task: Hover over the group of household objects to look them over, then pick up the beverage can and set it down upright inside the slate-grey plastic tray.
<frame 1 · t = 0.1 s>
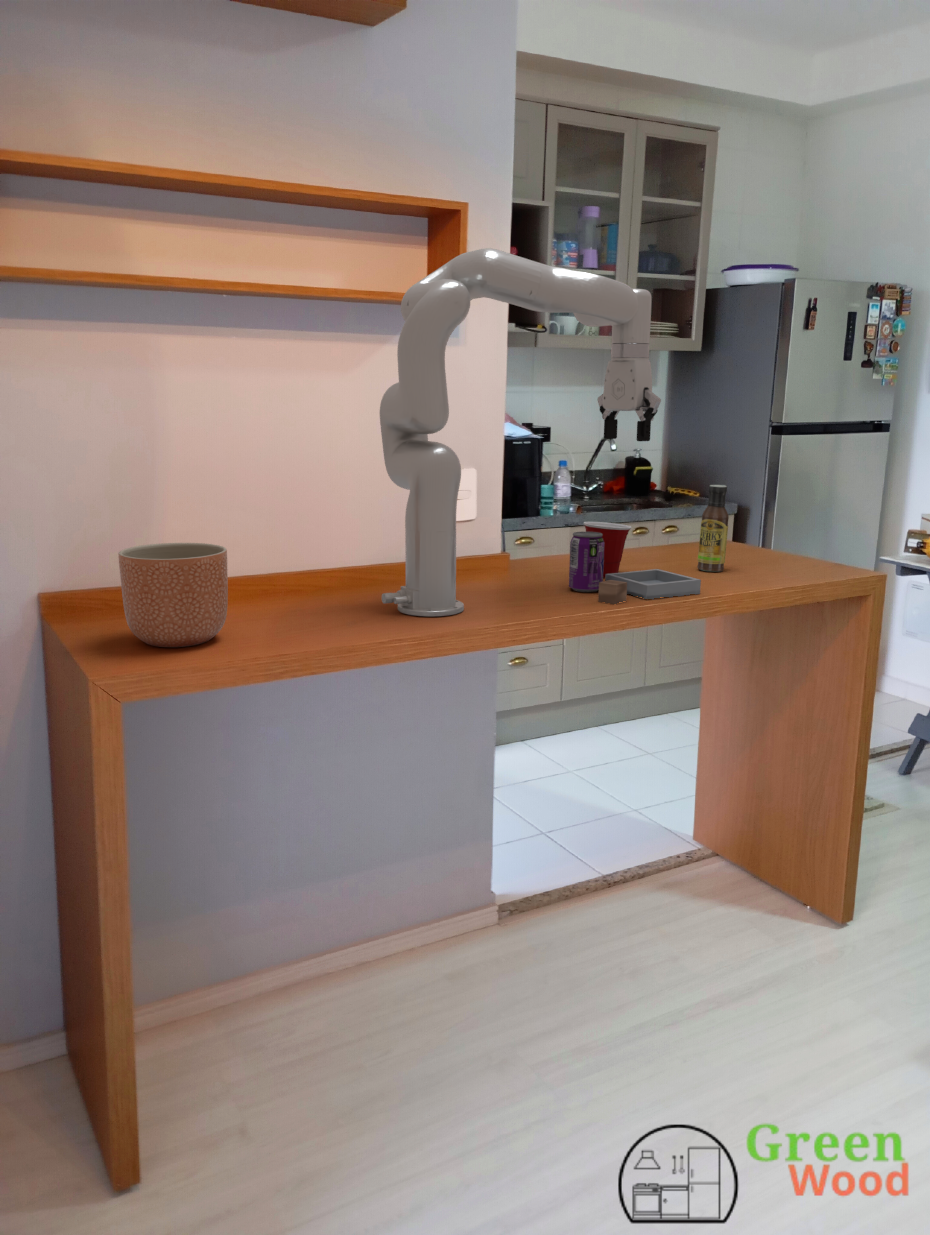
hand: (626, 439, 206), 31 cm above the countertop, tool pointing down, fingers open, 9 cm apart
beverage can: (585, 591, 212), on the countertop
planter: (178, 641, 168), on the countertop
tray: (651, 590, 212), on the countertop
plastic cup: (605, 576, 229), on the countertop
walnut block: (612, 602, 201), on the countertop
sauce bottle: (711, 571, 236), on the countertop
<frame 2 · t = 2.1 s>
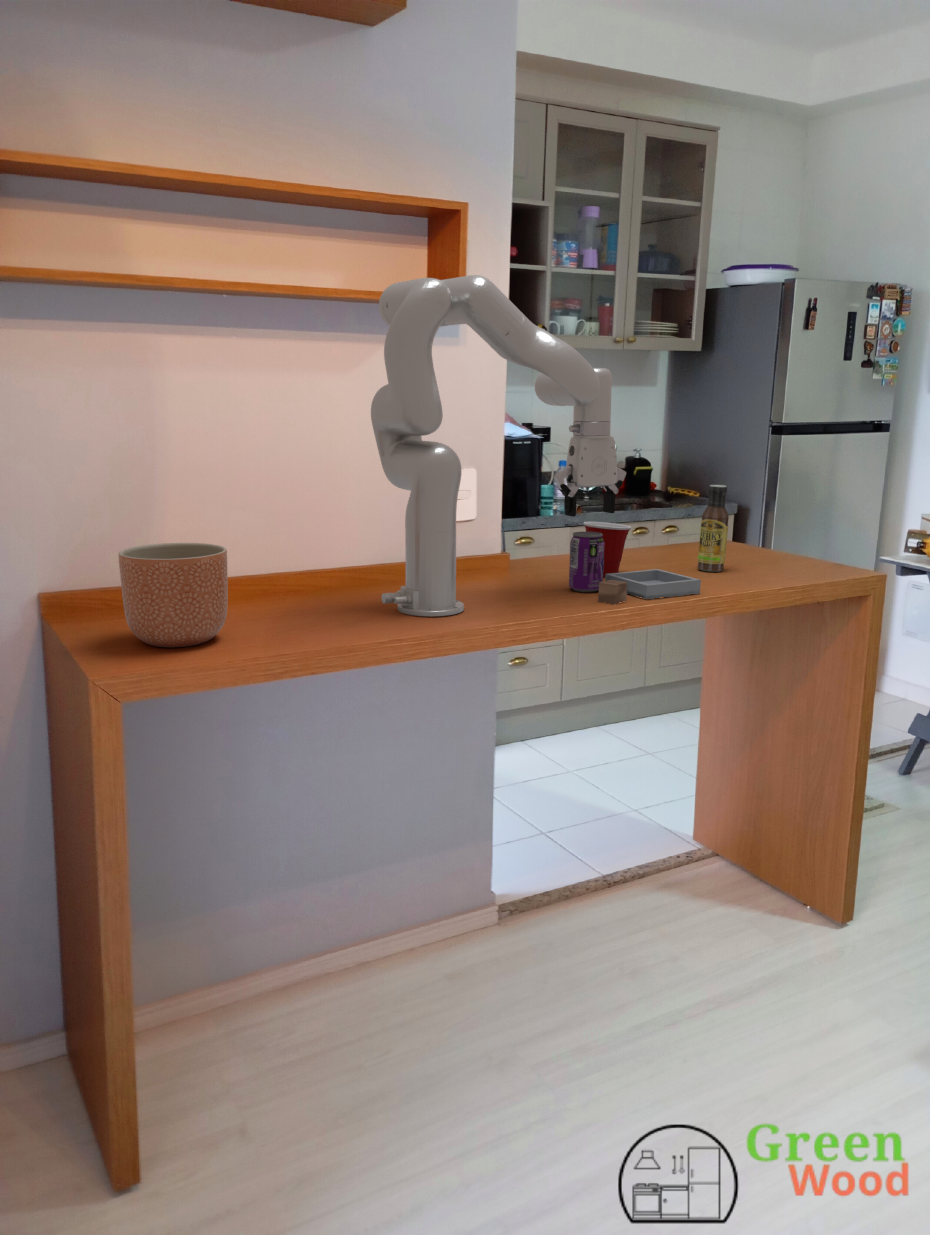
hand: (589, 514, 209), 16 cm above the countertop, tool pointing down, fingers open, 9 cm apart
nothing on the countertop moved.
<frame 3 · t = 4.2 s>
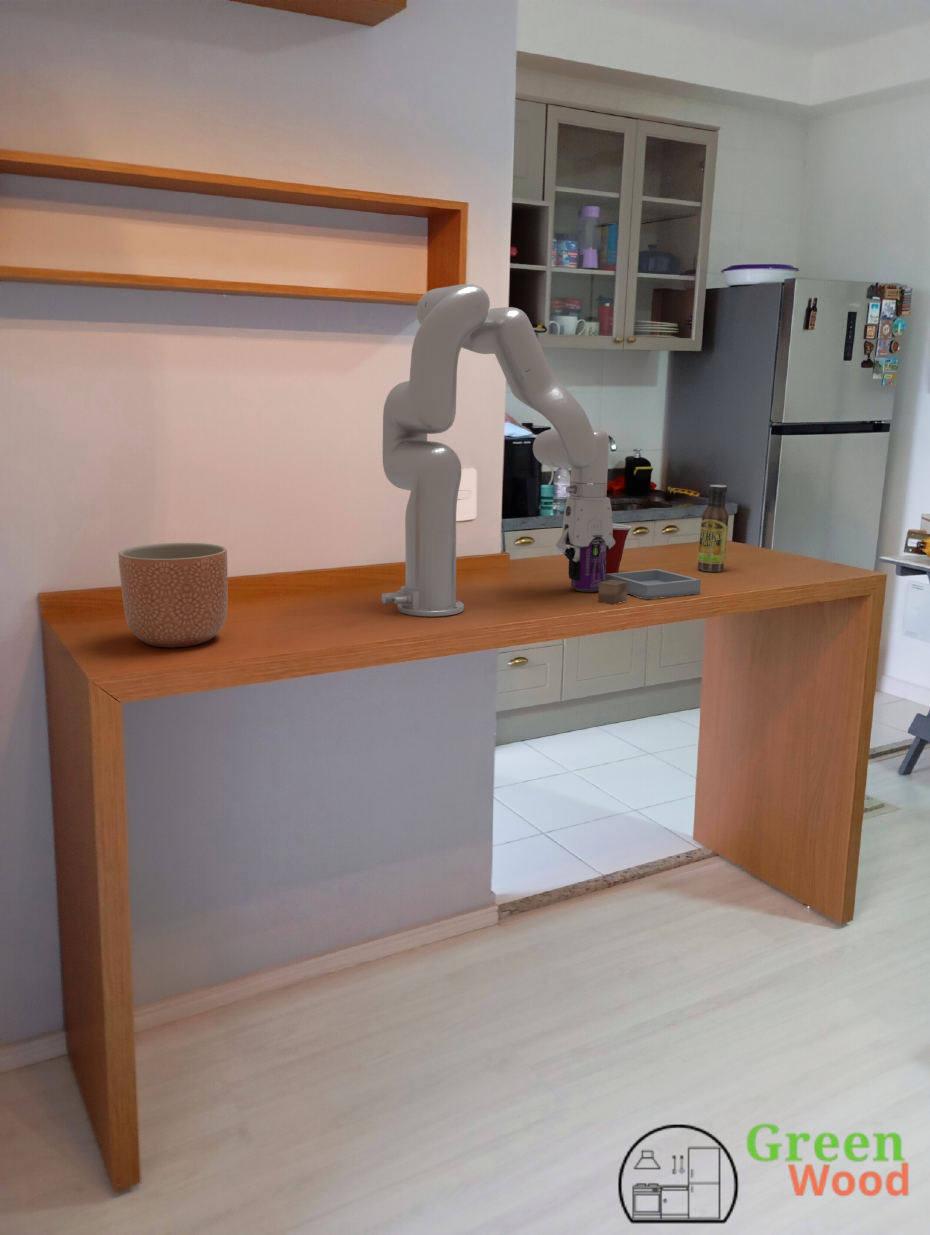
hand: (584, 577, 211), 3 cm above the countertop, tool pointing down, fingers closed on beverage can, 4 cm apart
beverage can: (587, 590, 212), on the countertop, touching gripper
everything else where it was.
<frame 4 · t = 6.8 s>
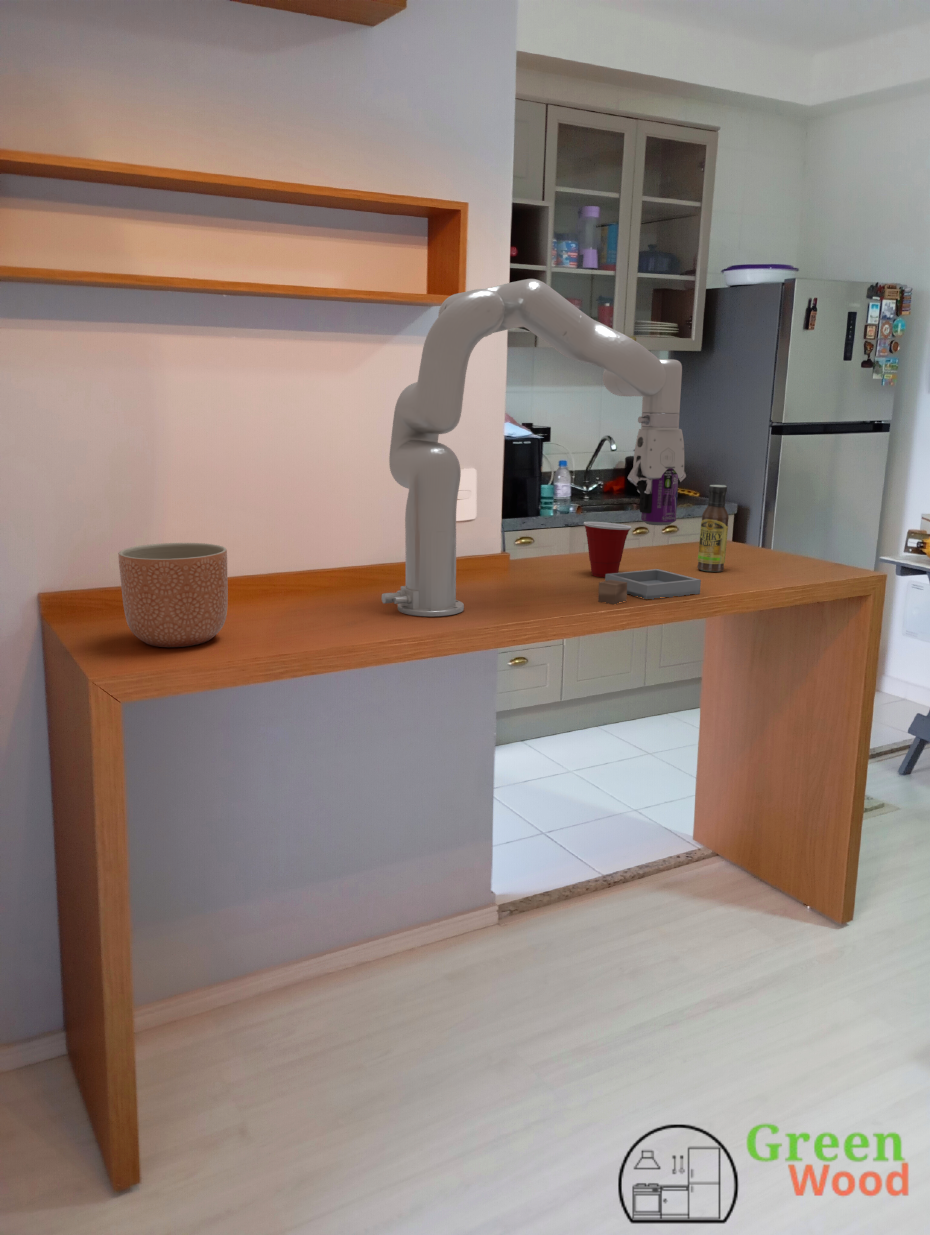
hand: (655, 511, 208), 17 cm above the countertop, tool pointing down, fingers closed on beverage can, 4 cm apart
beverage can: (658, 524, 209), point 14 cm above the countertop, touching gripper
everything else where it was.
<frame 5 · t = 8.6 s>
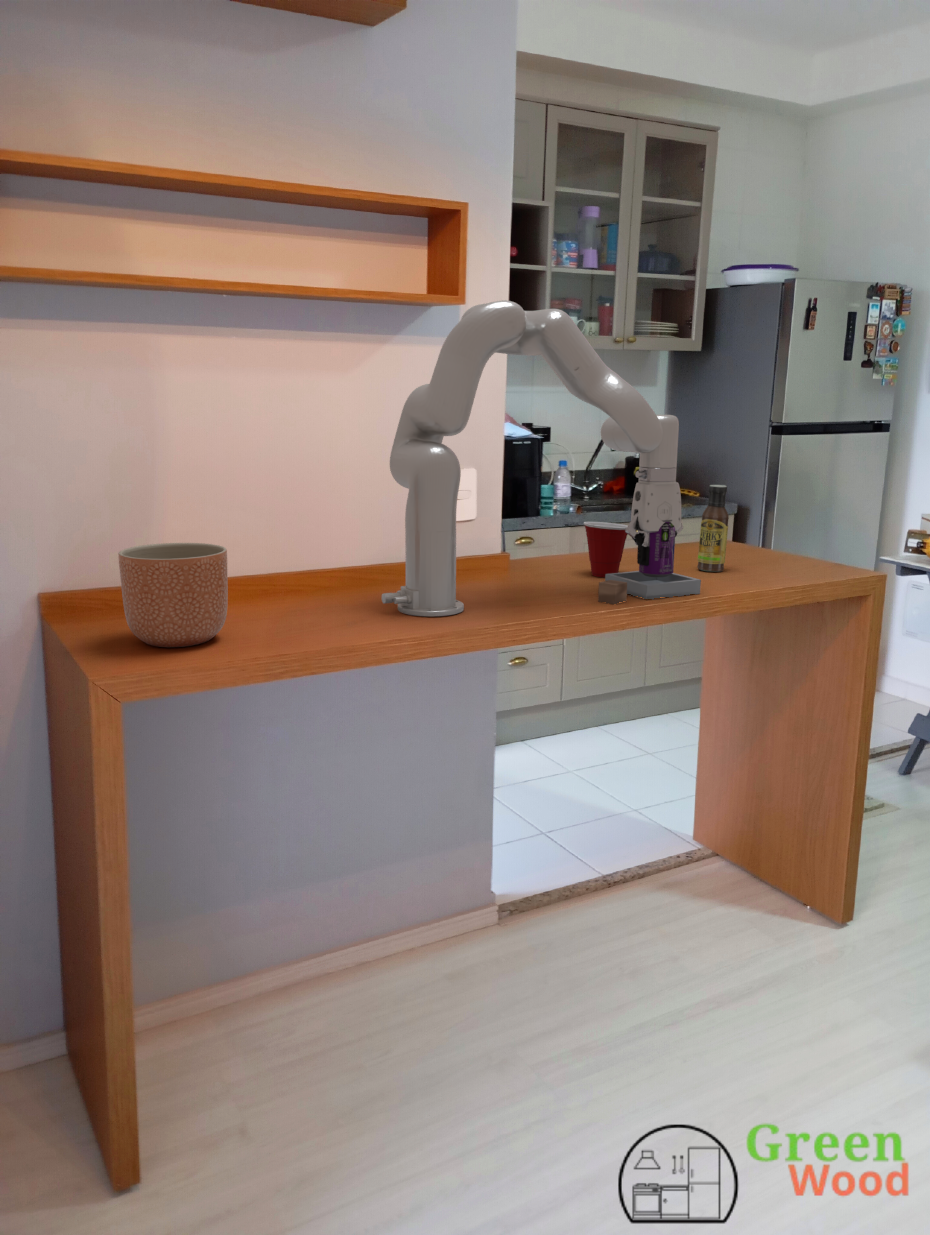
hand: (652, 562, 210), 6 cm above the countertop, tool pointing down, fingers closed on beverage can, 4 cm apart
beverage can: (655, 576, 211), point 3 cm above the countertop, touching gripper
everything else where it was.
when the fingers open (5 cm above the countertop, at t = 9.6 s): beverage can drops 1 cm, resting on tray.
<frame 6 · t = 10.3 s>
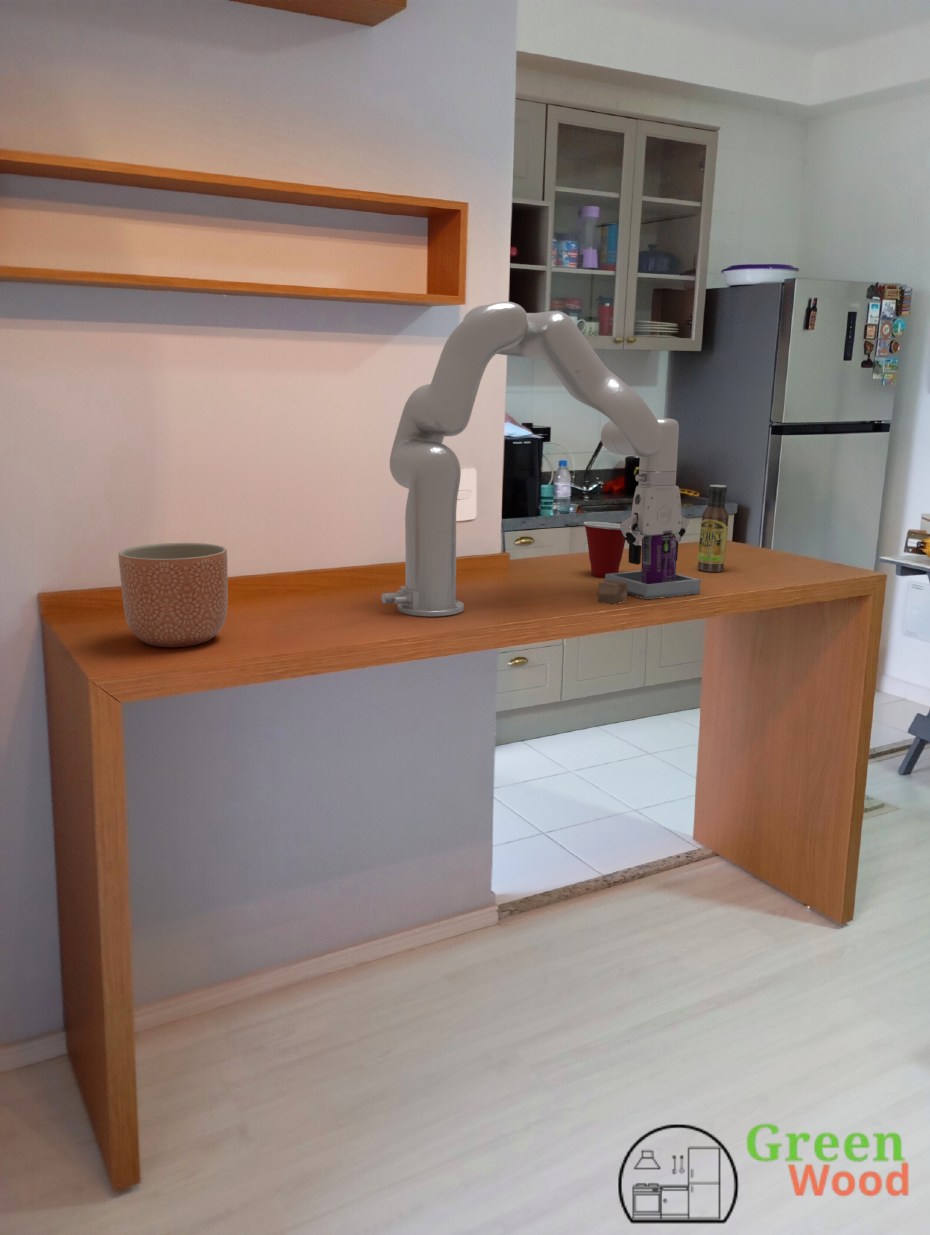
hand: (652, 561, 210), 6 cm above the countertop, tool pointing down, fingers open, 9 cm apart
beverage can: (658, 586, 212), point 1 cm above the countertop, touching gripper, tray
everything else where it was.
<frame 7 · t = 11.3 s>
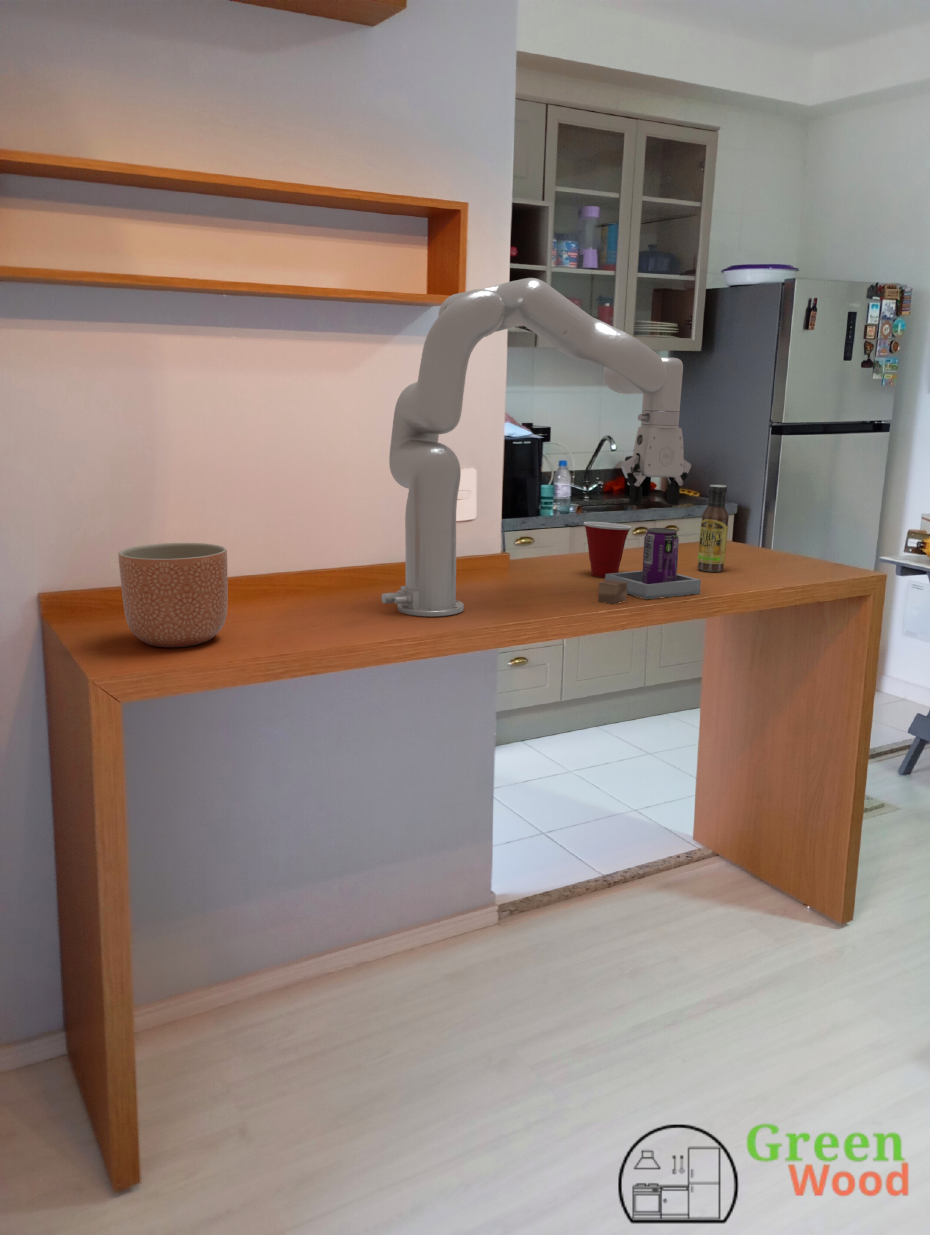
hand: (653, 504, 207), 18 cm above the countertop, tool pointing down, fingers open, 9 cm apart
beverage can: (658, 587, 212), point 1 cm above the countertop, touching tray
everything else where it was.
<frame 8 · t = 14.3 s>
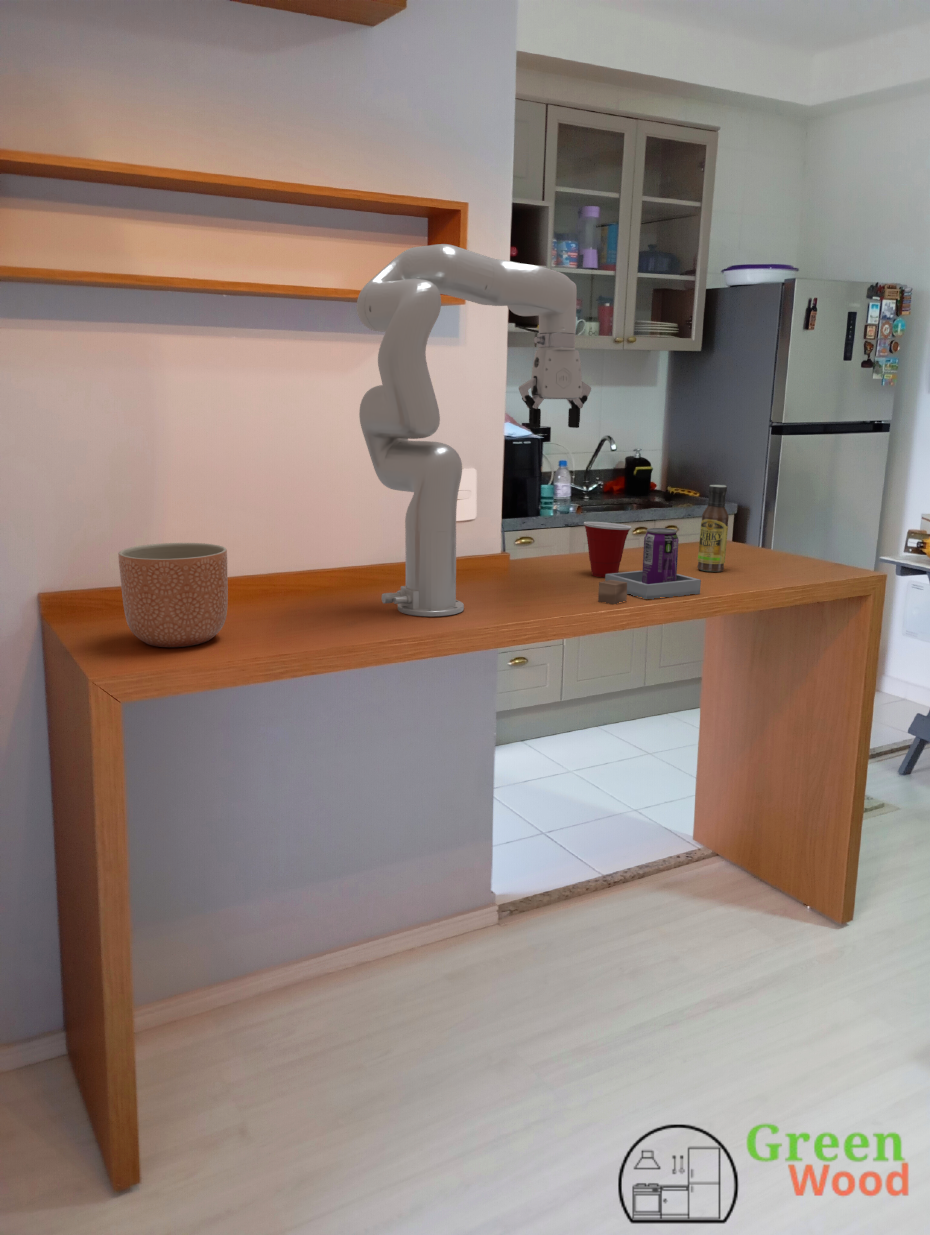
hand: (554, 427, 211), 33 cm above the countertop, tool pointing down, fingers open, 9 cm apart
nothing on the countertop moved.
at the end: beverage can inside the target area on the tray (1.7 cm from its centre), point 0.6 cm above the tray's base; beverage can tilted 0°; the gripper is holding nothing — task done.
